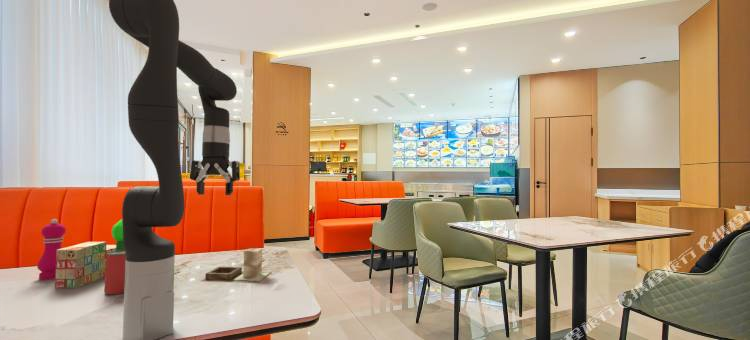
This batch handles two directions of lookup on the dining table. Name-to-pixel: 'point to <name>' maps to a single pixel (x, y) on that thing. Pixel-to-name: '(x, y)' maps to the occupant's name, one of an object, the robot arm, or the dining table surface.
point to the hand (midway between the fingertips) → (214, 194)
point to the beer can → (115, 272)
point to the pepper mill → (50, 249)
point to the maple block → (252, 263)
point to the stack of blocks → (81, 263)
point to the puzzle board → (232, 275)
